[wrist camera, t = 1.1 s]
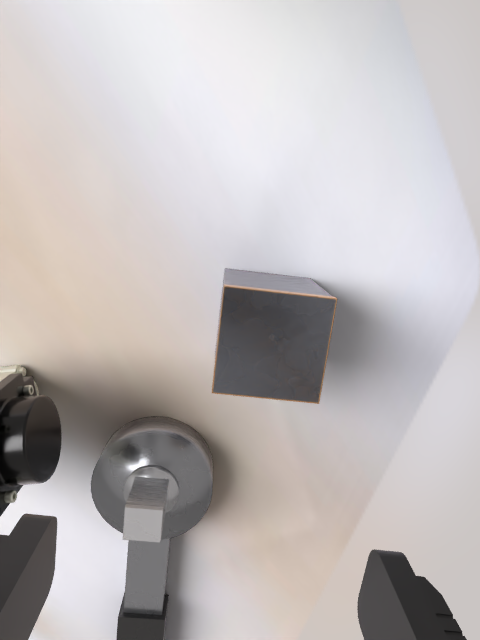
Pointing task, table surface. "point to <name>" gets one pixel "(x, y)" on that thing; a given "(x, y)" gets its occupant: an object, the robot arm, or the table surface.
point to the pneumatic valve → (25, 434)
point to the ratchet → (151, 509)
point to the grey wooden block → (272, 336)
